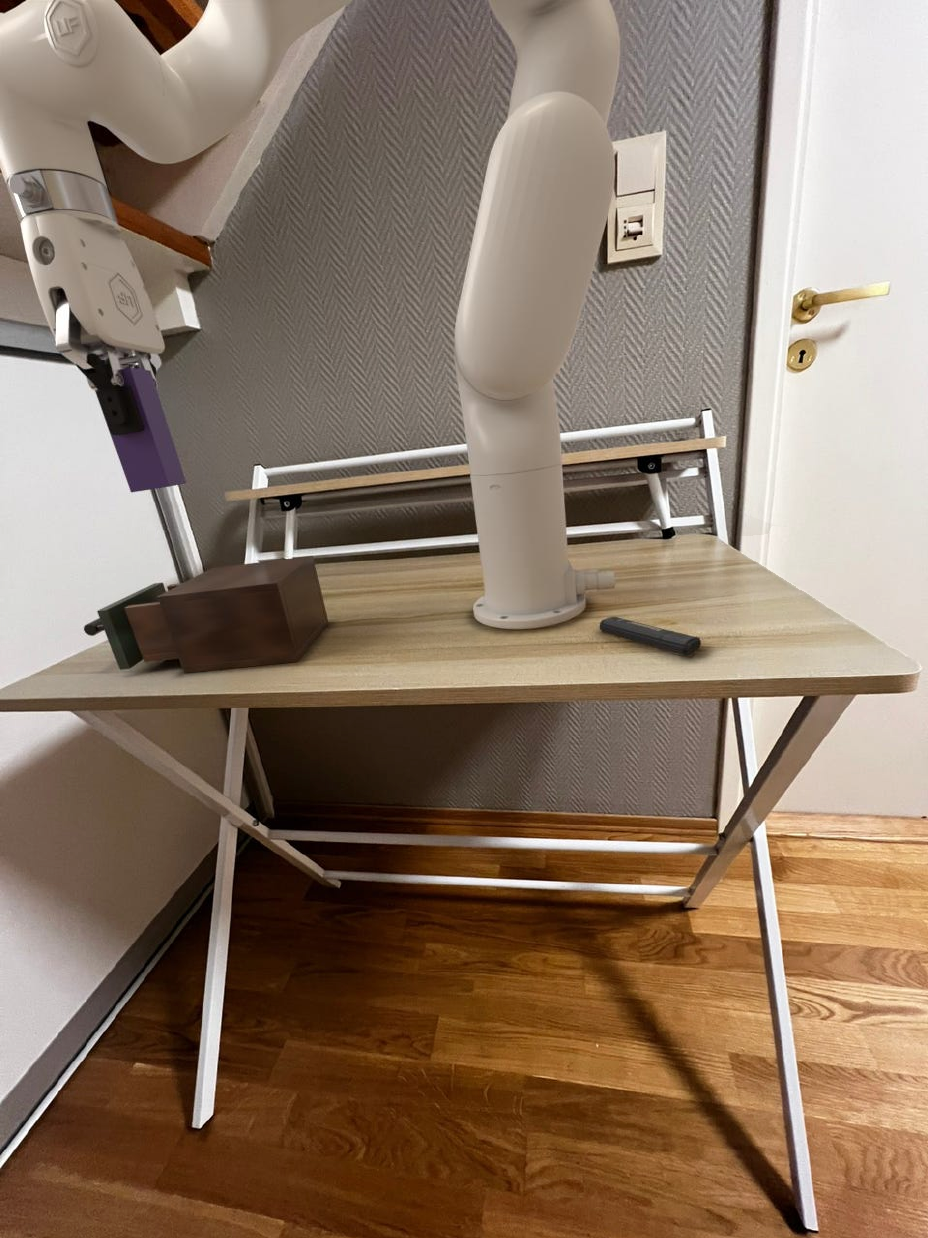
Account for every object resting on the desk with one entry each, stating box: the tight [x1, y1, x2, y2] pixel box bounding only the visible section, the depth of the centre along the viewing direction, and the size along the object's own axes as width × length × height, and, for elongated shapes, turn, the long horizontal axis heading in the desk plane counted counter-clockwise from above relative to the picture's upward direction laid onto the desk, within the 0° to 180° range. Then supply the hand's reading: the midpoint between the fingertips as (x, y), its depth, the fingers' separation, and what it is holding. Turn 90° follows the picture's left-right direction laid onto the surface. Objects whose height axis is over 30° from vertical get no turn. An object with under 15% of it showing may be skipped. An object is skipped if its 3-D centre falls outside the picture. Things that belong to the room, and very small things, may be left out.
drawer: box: [83, 582, 184, 671], centre depth 61 cm, size 15×10×7 cm, turn 87°
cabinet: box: [158, 555, 330, 674], centre depth 60 cm, size 13×11×9 cm
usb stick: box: [599, 616, 702, 657], centre depth 48 cm, size 10×3×2 cm, turn 36°
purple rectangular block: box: [94, 367, 187, 493], centre depth 54 cm, size 4×3×11 cm
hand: (140, 430), depth 54 cm, fingers closed on purple rectangular block, 3 cm apart
